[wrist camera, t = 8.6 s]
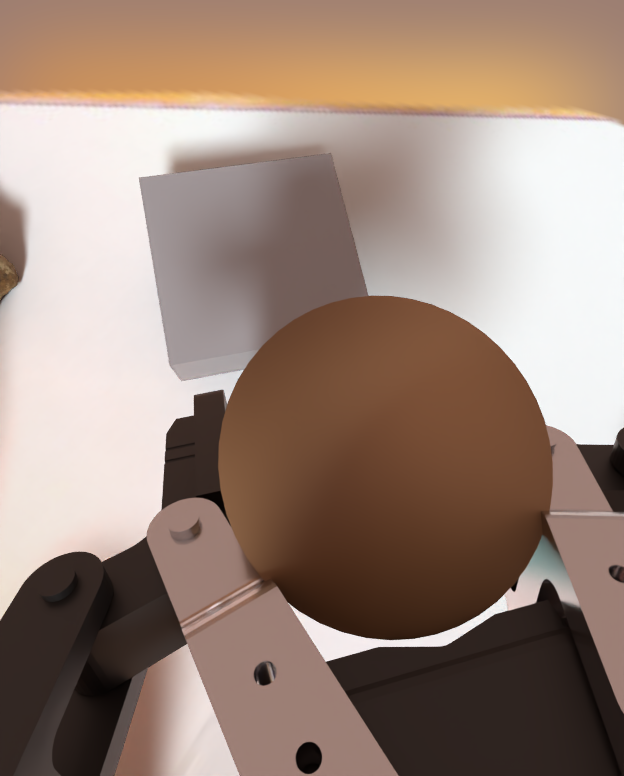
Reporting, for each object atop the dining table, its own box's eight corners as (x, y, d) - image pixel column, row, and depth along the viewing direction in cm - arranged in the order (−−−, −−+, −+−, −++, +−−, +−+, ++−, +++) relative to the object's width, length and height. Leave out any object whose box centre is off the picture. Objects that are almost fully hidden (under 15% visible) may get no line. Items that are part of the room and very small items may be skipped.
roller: (366, 400, 17) (496, 273, 7) (399, 533, 16) (599, 588, 6) (235, 426, 16) (191, 325, 7) (262, 567, 15) (255, 685, 6)
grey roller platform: (319, 218, 31) (330, 153, 25) (354, 361, 29) (376, 327, 23) (164, 240, 29) (138, 177, 24) (190, 393, 27) (169, 365, 22)
